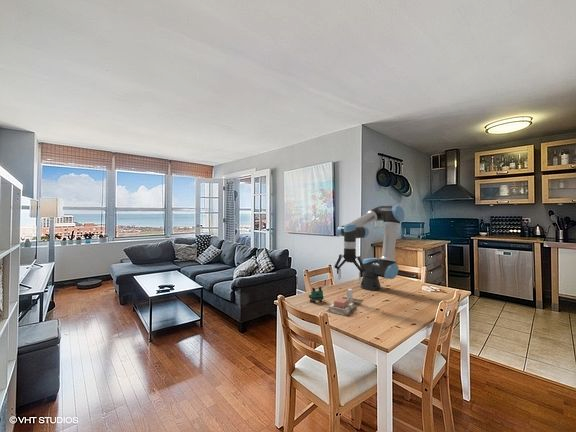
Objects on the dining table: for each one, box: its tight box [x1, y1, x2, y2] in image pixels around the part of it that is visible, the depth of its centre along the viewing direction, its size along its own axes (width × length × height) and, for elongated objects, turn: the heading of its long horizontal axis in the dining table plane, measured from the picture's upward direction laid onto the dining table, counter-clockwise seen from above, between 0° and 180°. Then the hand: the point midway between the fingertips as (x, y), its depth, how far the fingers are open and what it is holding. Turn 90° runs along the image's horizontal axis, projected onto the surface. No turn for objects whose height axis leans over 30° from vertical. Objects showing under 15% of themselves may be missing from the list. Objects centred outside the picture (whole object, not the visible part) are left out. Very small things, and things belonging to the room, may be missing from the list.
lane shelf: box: [326, 296, 364, 317], centre depth 162 cm, size 30×14×4 cm, turn 148°
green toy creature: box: [308, 286, 324, 304], centre depth 170 cm, size 9×11×10 cm
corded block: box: [333, 288, 354, 309], centre depth 160 cm, size 22×6×8 cm, turn 148°
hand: (349, 280), depth 168 cm, fingers open, 13 cm apart
